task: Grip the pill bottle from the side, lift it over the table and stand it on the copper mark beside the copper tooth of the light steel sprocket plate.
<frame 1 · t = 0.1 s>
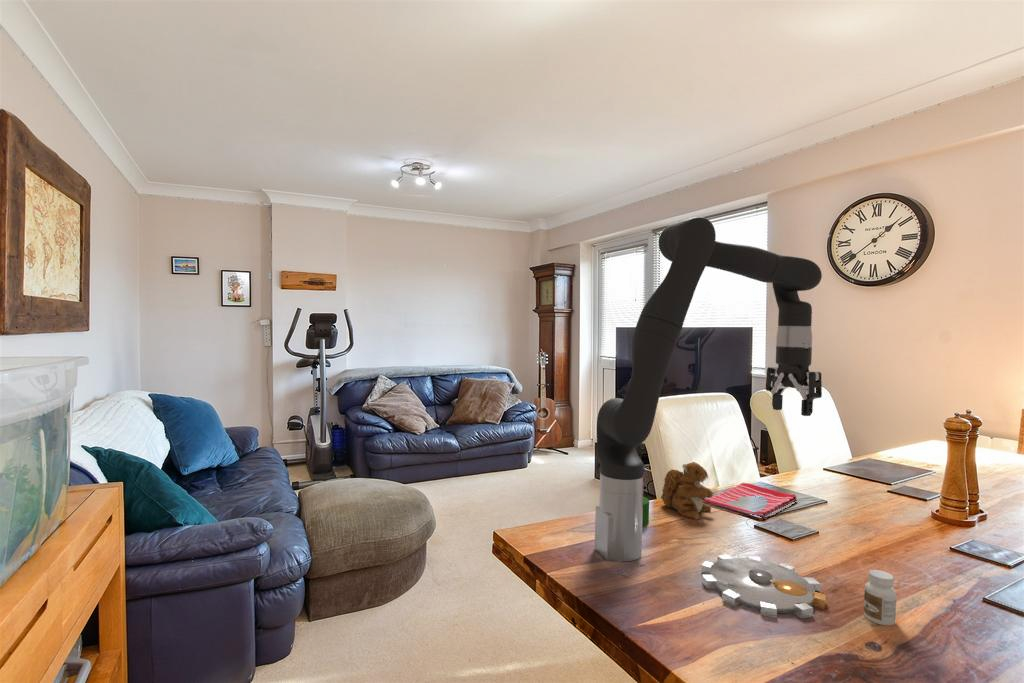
hand: (791, 412, 123), 29 cm above the table, tool pointing down, fingers open, 8 cm apart
dish towel: (750, 505, 145), on the table
sprocket plate: (760, 586, 97), on the table
stuffed squirrel: (683, 510, 139), on the table
pill bottle: (879, 620, 87), on the table
candle: (631, 521, 130), on the table
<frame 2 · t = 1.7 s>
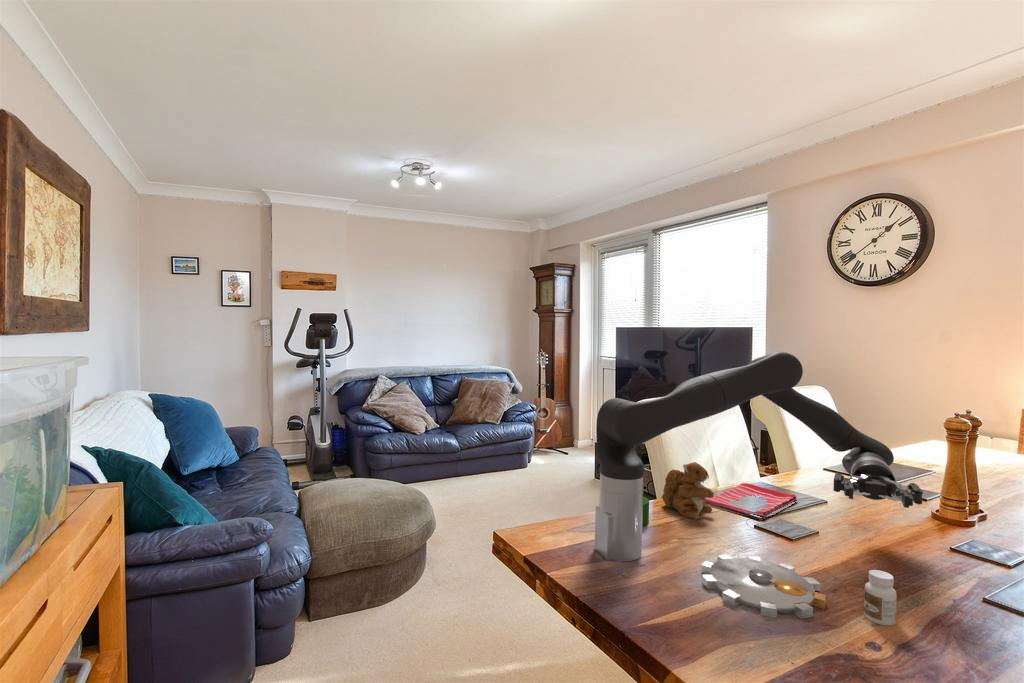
hand: (878, 498, 96), 18 cm above the table, tool horizontal, fingers open, 8 cm apart
nothing on the table moved.
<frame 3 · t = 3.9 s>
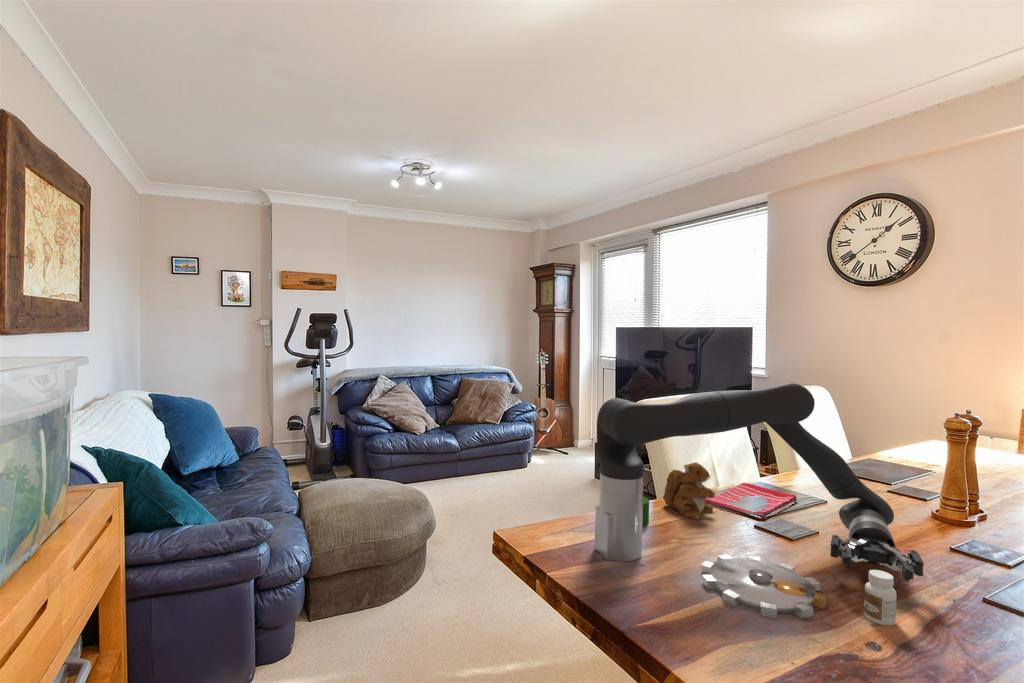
hand: (877, 569, 92), 6 cm above the table, tool horizontal, fingers open, 8 cm apart
nothing on the table moved.
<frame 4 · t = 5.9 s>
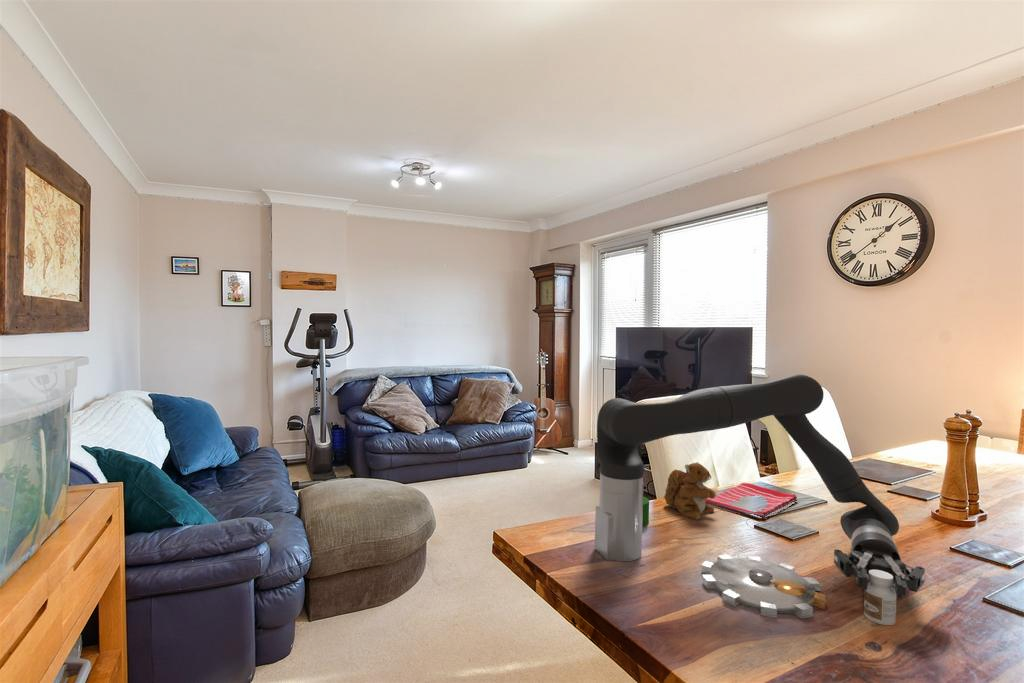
hand: (882, 587, 85), 7 cm above the table, tool horizontal, fingers closed on pill bottle, 4 cm apart
pill bottle: (879, 619, 87), on the table, touching gripper
everything else where it was.
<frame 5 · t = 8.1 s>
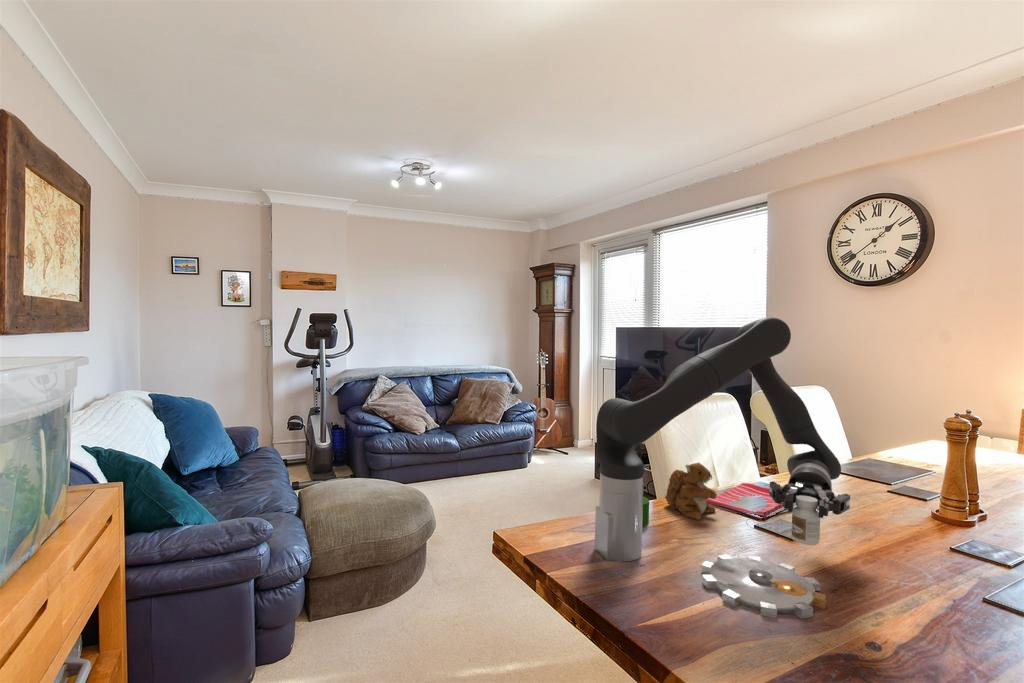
hand: (805, 509, 90), 18 cm above the table, tool horizontal, fingers closed on pill bottle, 4 cm apart
pill bottle: (805, 541, 93), point 11 cm above the table, touching gripper
everything else where it was.
when the fingers open (8 cm above the table, at t = 10.5 s): pill bottle stays where it is, resting on sprocket plate.
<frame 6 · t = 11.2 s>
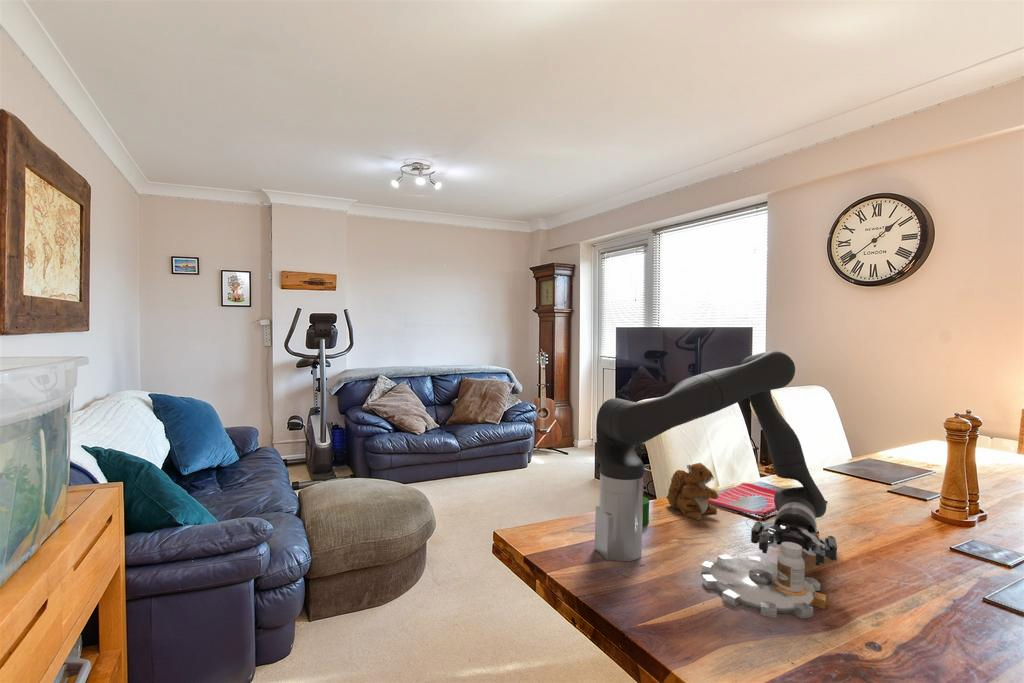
hand: (790, 553, 93), 8 cm above the table, tool horizontal, fingers open, 8 cm apart
pill bottle: (790, 587, 94), point 1 cm above the table, touching sprocket plate
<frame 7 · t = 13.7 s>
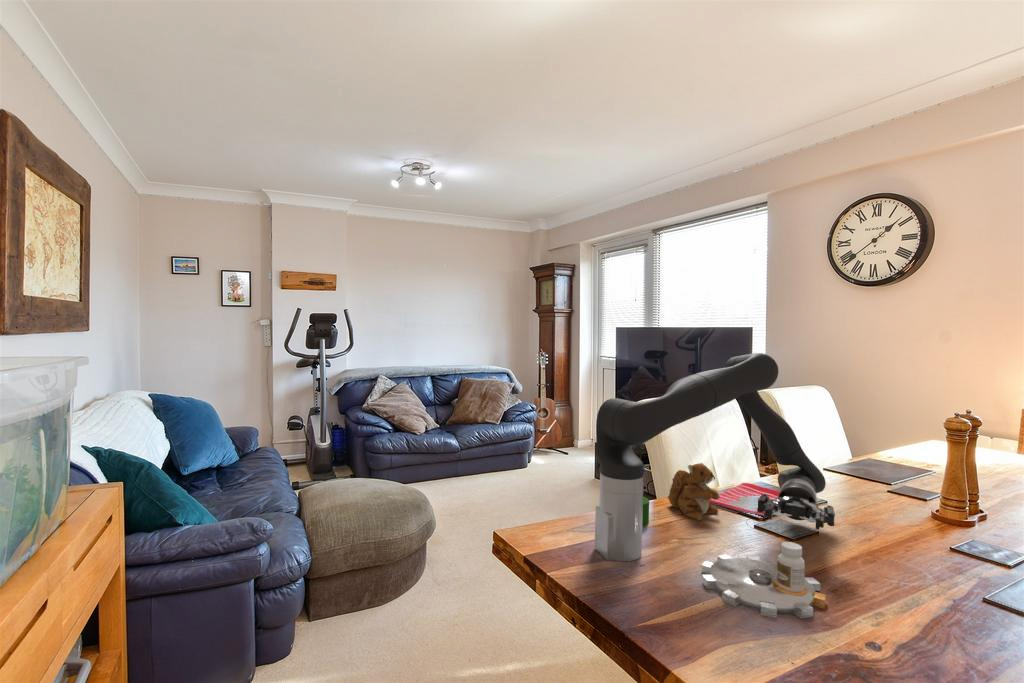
hand: (793, 519, 104), 11 cm above the table, tool horizontal, fingers open, 8 cm apart
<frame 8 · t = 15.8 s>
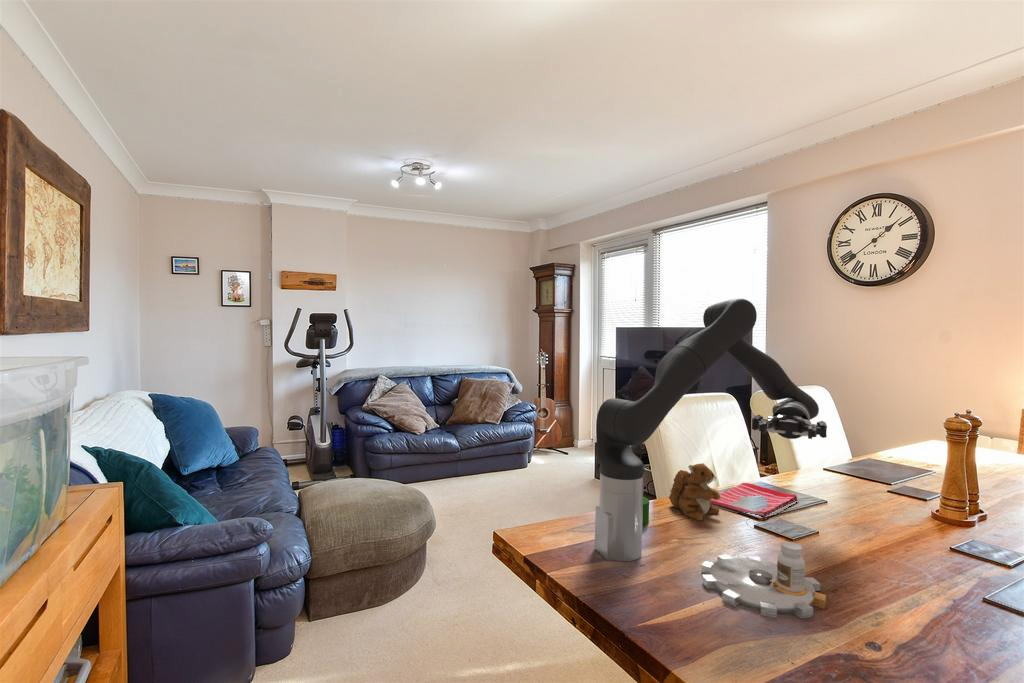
hand: (786, 431, 106), 28 cm above the table, tool horizontal, fingers open, 8 cm apart
at the end: pill bottle 0.1 cm from the target spot on the sprocket plate, point 1.4 cm above the sprocket plate's base; pill bottle tilted 0°; the gripper is holding nothing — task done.
